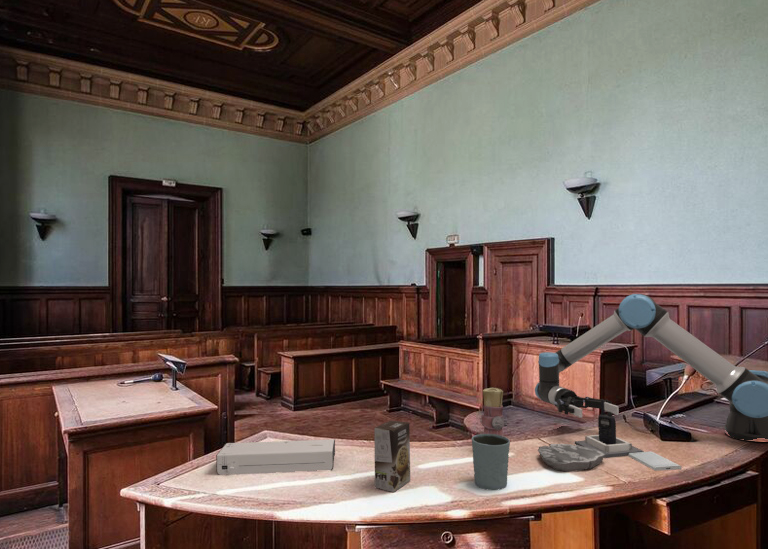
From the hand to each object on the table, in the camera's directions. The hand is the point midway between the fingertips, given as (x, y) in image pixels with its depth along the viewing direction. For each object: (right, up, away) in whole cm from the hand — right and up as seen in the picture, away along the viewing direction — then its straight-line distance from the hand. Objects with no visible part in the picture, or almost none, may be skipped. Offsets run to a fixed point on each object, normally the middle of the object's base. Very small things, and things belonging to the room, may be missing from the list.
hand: (599, 412), depth 161 cm
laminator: (-104, -13, -14) cm, 106 cm away
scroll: (-36, -12, -4) cm, 39 cm away
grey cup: (-42, -11, -30) cm, 53 cm away
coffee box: (-69, -12, -29) cm, 76 cm away
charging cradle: (+1, -11, -3) cm, 12 cm away
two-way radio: (+1, -10, -3) cm, 11 cm away
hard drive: (+9, -11, -16) cm, 21 cm away
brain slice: (-16, -12, -14) cm, 24 cm away
